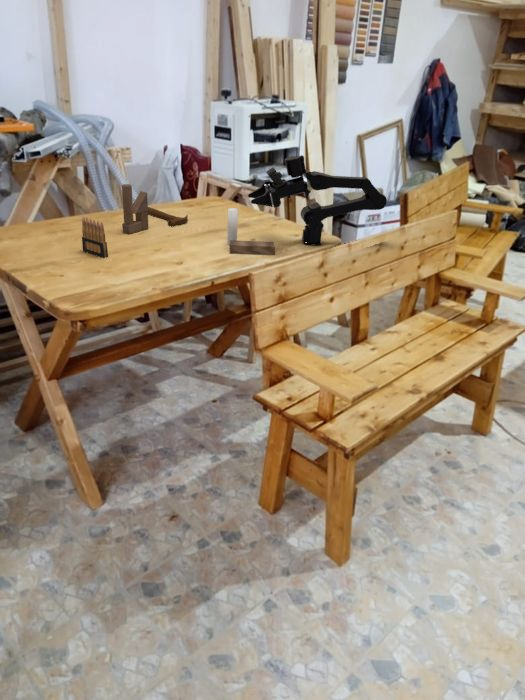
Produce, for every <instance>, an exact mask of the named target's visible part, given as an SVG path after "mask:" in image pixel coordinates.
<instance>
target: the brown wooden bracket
mask: <svg viewBox="0 0 525 700" xmlns="http://www.w3.org/2000/svg"><path fill="white" fill-rule="evenodd" d="M121 193H122V208H123V209H122V210H123V223H122V224H121V225H122V233H124V234H127V235H131V234H135V233H138V232H141V231H142V230H143V231H146V230H148V229H149V214H148V207H149V205H148V204H149V203H148V202H149V201H148V200H149V199H148V192H146V191H142V190H140V191H139V193H138V195H137V197H136V198H135V200H134V202H133V186H132V184H129V183H124V184H121ZM134 216H135V220H134Z"/></svg>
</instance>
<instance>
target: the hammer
mask: <svg viewBox="0 0 525 700" xmlns="http://www.w3.org/2000/svg"><path fill="white" fill-rule="evenodd" d="M149 214H151V215H150V216H152V215H153V216H152V217H155V216H156V218H158V217H159V218H158V219H161V218H162V219H163V220H165V221H167V225H168V227H170V226H171V228H172V226H173V227H176V226H177V225H178V226H183V225H186V224H187V223H188V221H189V219H188V217H189V216H188V214H186V216H184V217H180V216H176V215H173V214H168V213H166V212H164V211H161V210H158V209H156V208H153V207H149V206H148V215H149ZM162 219H161V220H162ZM178 226H177V227H178Z"/></svg>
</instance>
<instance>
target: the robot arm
mask: <svg viewBox="0 0 525 700" xmlns="http://www.w3.org/2000/svg"><path fill="white" fill-rule="evenodd" d="M284 163H285V167H286V173H287V176H290V177H291V179H287V180H286V179H285V178H283V179H282V177H283V175H282V173H281V171H277V170H276V168H274V167H271V168H270V169H268V170H267V171H265V172H266V174H267V176H268V178H267V179H264V180H263V181H262V182H261V185H260V187H258V188H257V189H255V190H253V191H252V192H250V193H248V194H247V197H248V198H251V200H250V203H251V204H253V205H257V206H258V205H259V206H260V205H261V206H265V207H270V208H278V207H280V206H281V204H282V202H281V199H285V198H287V199H291V197H292V196H296V195H299V194H302V193H303V196H304V197H305V198H309V197H308V196H309V195H310V193H311V192H312V191H311V190H310V189H309V187H310V188H311V189H312V190H314V191H323V190H328V189H332V188H339V189H356V190H357V189H358V190H359V189H360V190H362V192H363V195H362V196H361V197H358V198H353V199H349V200H346V201H341V202H336V203H331V204H328V205H321V204H320V203H319V202H318V201H316V202H314V203H311V204H310V203H307V204H306V206H303V207H302V209H301V210H300V218H301V219H302V220H303V222H304V223H305V225H304V229H303V230H302V235H301V241H302V242H303V244H304V243H305V242H307V243H305V244H315V245H314V246H322V233H323V228H324V225H325V224H323V221H324V220H326V219H328V218H331V217H335V216H340V215H344V214H348V213H352V212H358V211H361V210H364V211H366V210H369V211H379V210H383V209H384V208H385V207H386V206H387V204H388V199H387V197H386V195H385V194H383V193H382V192H380V191H379V190H378V189H377V188H376V187H375V186H374V185H373V183H372V182H371V180H370V179H369V178H368V177H366V176H346V175H345V176H342V175H341V176H340V175H330V174H327V173H325V172H320V171H315V170H313V171H309V170H308V169H306V166H305V165H306V164H305V156H304V155H295V156H293V155H291V156H288V157H286V158H285V159H284ZM269 178H270V179H271V180H270V179H269ZM304 178H305V179H306V181H305V180H304ZM308 186H309V187H308ZM305 244H304V245H305Z"/></svg>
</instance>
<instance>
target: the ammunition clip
mask: <svg viewBox="0 0 525 700" xmlns="http://www.w3.org/2000/svg"><path fill="white" fill-rule="evenodd" d="M81 223H82V225H81V226H82V228H81V231H82V237H81V242H82V252H83V251H85V252H84V253H87V252H88V253H87V254H89V255H94V256H96V255H97V256H96V257H99V256H100V257H99V258H102V257H103V258H102V259H106V258H109V252H108V244H107V241H106V233H105V228H104V222H103V221H101V222H100V221H99V220H95V219H93V220H92V219H91V218H90V219H89V218H88V217H86V218H85V217H84V216H82V218H81ZM105 257H106V258H105Z"/></svg>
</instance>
